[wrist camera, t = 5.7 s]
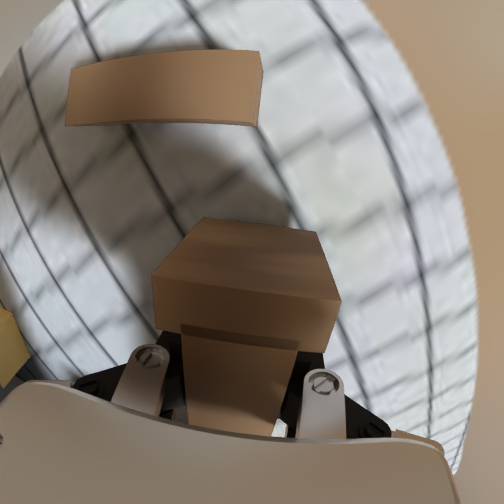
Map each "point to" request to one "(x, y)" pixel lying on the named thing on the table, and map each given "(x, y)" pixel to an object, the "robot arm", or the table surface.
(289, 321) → the mallet
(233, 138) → the table surface
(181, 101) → the tan rectangular bar
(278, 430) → the table surface
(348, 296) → the table surface
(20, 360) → the block
